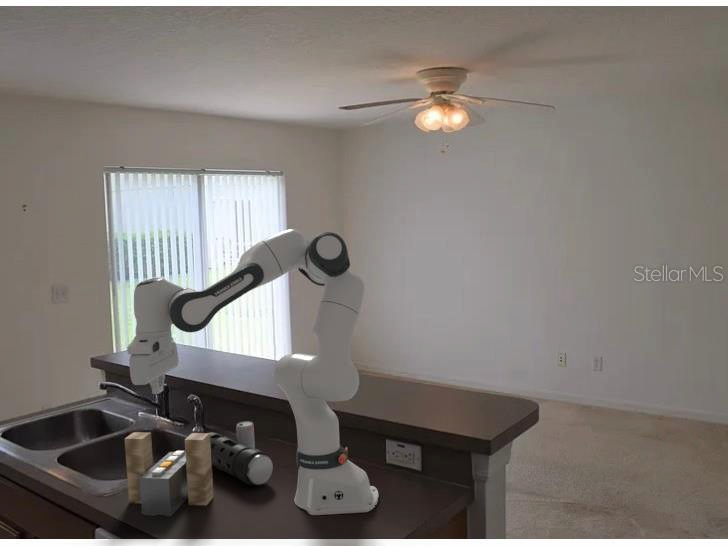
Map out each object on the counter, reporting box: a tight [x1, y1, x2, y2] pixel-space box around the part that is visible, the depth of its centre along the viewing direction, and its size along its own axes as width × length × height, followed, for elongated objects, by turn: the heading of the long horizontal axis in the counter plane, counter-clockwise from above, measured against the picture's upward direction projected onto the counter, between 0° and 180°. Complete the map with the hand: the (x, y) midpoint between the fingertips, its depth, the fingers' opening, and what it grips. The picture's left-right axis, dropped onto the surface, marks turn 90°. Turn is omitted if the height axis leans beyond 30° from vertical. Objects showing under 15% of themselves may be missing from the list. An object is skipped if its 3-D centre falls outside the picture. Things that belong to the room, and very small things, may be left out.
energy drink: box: [235, 420, 256, 449], centre depth 200 cm, size 5×5×12 cm
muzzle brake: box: [209, 431, 274, 486], centre depth 190 cm, size 10×28×10 cm, turn 44°
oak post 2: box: [184, 432, 214, 506], centre depth 173 cm, size 5×5×18 cm
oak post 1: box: [124, 431, 154, 502], centre depth 175 cm, size 5×5×18 cm
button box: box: [139, 450, 188, 517], centre depth 175 cm, size 8×18×11 cm, turn 172°
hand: (158, 392), depth 168 cm, fingers closed
